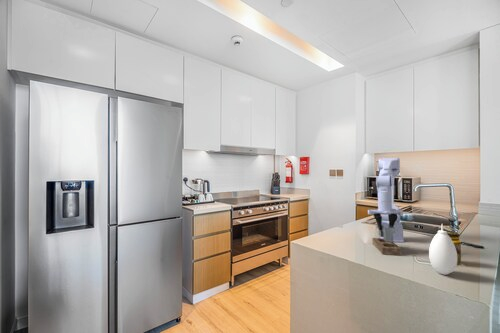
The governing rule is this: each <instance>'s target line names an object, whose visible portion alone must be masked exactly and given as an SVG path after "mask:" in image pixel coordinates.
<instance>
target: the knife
mask: <svg viewBox="0 0 500 333" xmlns="http://www.w3.org/2000/svg"><path fill="white" fill-rule="evenodd" d="M423 235H424V236H427V237H431V238H434V236H435V235H430V234H426V233H423ZM460 242H461V245H464V246H467V247H472V248H475V249H484V248H485V246H483V245H480V244H475V243H472V242H471V243H470V242H466V241H461V240H460Z"/></svg>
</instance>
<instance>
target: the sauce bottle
mask: <svg viewBox="0 0 500 333" xmlns="http://www.w3.org/2000/svg"><path fill="white" fill-rule="evenodd" d="M446 231H447V230H444V225H443V223H441V229H439V230H437V233H436V234H435V235H433V236H434V237H432V240H431V242H430V244H429V249H428V256H429V262H430V264H431V266H432V269H434V270H435V271H436V272H437V273H439V274H440V275H443V276H444V275H445V276H447V275H449V274H450V273H453V272H454V271H455V270H456V268H457V267H458V266H457V251H456V248H455V245H454V243H453V241H452V240H451V238H450V237H449V236H448V235H447V232H446Z"/></svg>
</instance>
